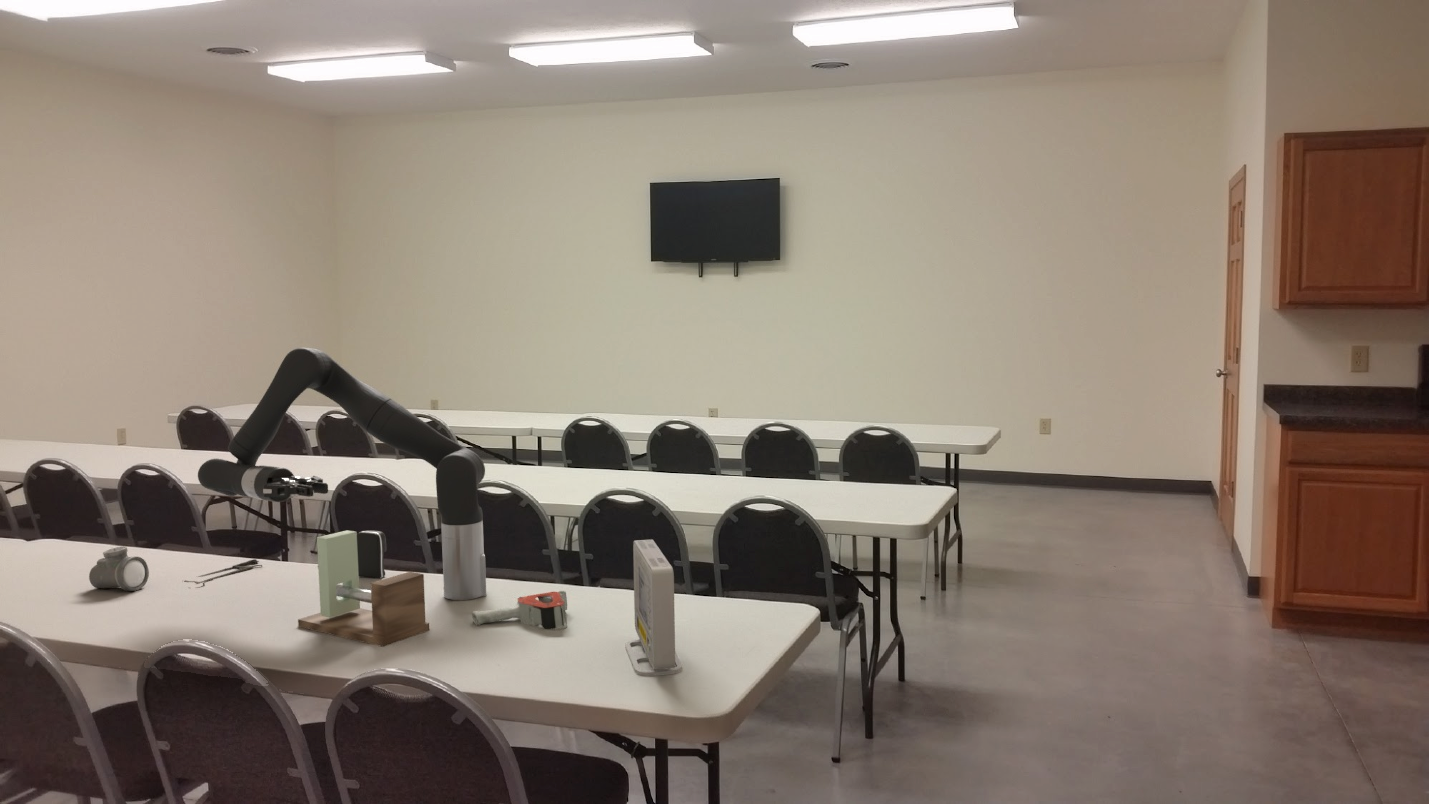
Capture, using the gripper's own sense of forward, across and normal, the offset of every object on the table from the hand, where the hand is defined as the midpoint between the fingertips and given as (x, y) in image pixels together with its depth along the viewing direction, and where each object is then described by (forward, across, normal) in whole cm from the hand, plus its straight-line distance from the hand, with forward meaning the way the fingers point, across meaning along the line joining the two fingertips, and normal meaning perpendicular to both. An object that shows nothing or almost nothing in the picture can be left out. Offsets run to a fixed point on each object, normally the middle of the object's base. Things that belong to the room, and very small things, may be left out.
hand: (319, 490), depth 222 cm
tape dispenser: (+39, +22, +29) cm, 53 cm away
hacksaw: (-53, +12, +29) cm, 62 cm away
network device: (+75, +15, +28) cm, 81 cm away
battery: (-20, +29, +28) cm, 45 cm away
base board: (+12, 0, +28) cm, 31 cm away
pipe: (+12, 0, +22) cm, 26 cm away
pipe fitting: (-64, -9, +28) cm, 71 cm away
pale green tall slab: (+5, 0, +26) cm, 26 cm away
